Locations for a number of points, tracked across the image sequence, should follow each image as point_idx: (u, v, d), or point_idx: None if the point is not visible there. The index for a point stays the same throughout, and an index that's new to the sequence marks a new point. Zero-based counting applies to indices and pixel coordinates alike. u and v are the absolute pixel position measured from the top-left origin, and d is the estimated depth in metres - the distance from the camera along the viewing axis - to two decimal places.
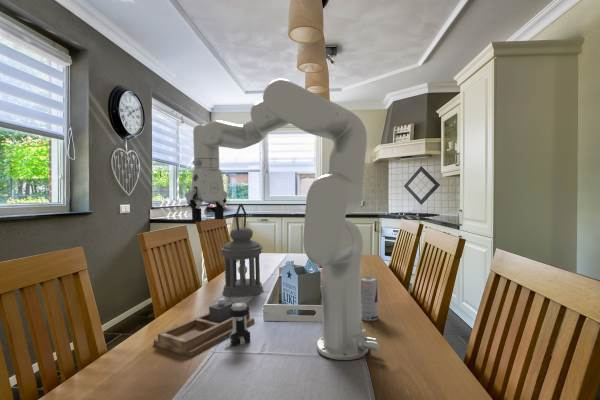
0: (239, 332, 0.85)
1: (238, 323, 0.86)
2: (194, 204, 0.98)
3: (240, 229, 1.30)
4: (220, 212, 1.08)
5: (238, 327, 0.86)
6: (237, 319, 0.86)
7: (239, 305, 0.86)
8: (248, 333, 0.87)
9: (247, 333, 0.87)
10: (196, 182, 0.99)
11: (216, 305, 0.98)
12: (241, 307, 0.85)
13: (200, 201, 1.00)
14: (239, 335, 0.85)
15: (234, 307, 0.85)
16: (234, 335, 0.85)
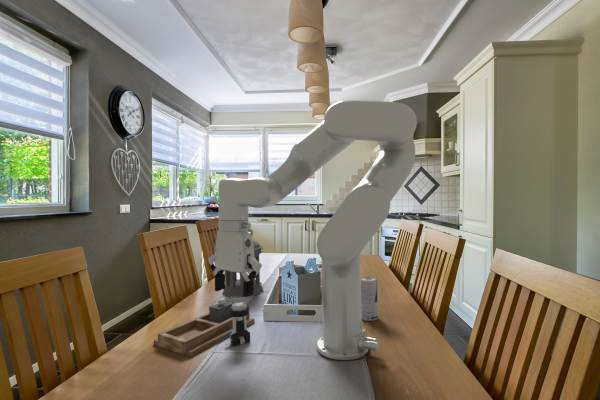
0: (239, 332, 0.85)
1: (238, 323, 0.86)
2: None
3: None
4: (223, 280, 0.89)
5: (238, 327, 0.86)
6: (237, 319, 0.86)
7: (239, 305, 0.86)
8: (248, 333, 0.87)
9: (247, 333, 0.87)
10: (249, 249, 0.84)
11: (216, 305, 0.98)
12: (241, 307, 0.85)
13: None
14: (239, 335, 0.85)
15: (234, 307, 0.85)
16: (234, 335, 0.85)
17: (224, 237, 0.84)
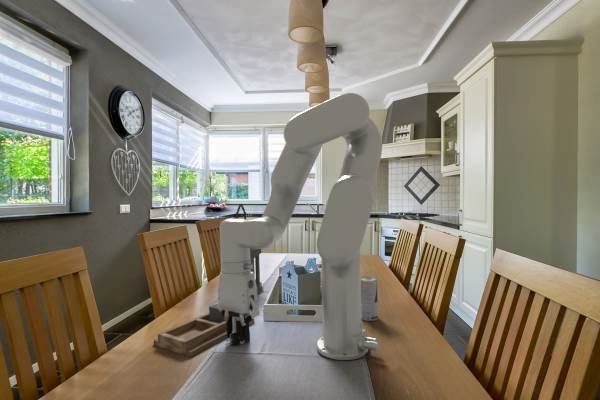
0: None
1: (238, 323, 0.86)
2: None
3: None
4: None
5: (238, 327, 0.86)
6: (237, 319, 0.86)
7: None
8: None
9: None
10: (252, 289, 0.84)
11: (216, 305, 0.98)
12: None
13: None
14: (239, 335, 0.85)
15: None
16: (234, 335, 0.85)
17: (227, 278, 0.84)
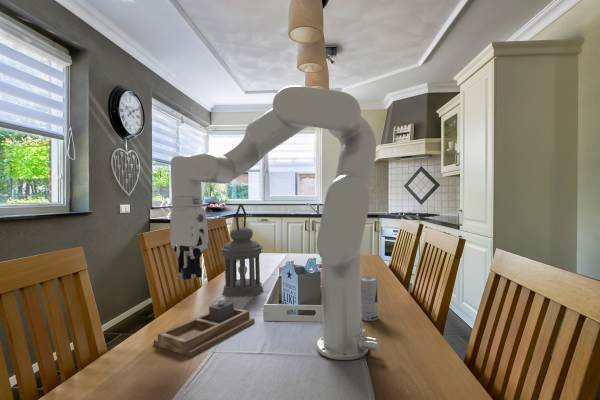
0: None
1: (189, 258, 0.88)
2: None
3: (240, 229, 1.30)
4: None
5: None
6: (188, 254, 0.88)
7: None
8: None
9: None
10: (202, 223, 0.86)
11: (216, 305, 0.98)
12: None
13: None
14: None
15: None
16: (185, 269, 0.87)
17: (177, 213, 0.86)
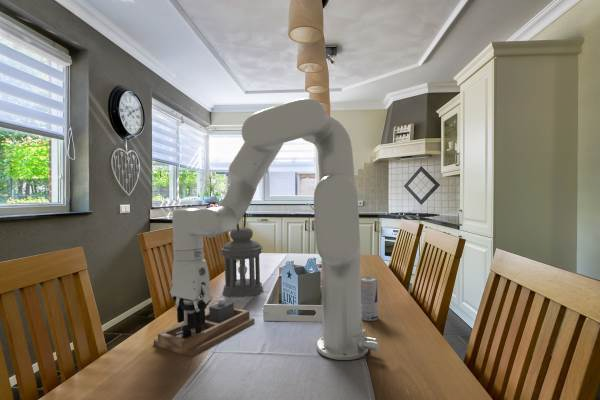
0: (190, 324, 0.88)
1: (189, 316, 0.88)
2: None
3: (240, 229, 1.30)
4: None
5: (189, 320, 0.88)
6: (188, 312, 0.89)
7: None
8: None
9: None
10: (204, 276, 0.86)
11: (216, 305, 0.98)
12: None
13: None
14: (190, 327, 0.88)
15: (186, 301, 0.87)
16: (185, 327, 0.88)
17: (179, 266, 0.87)
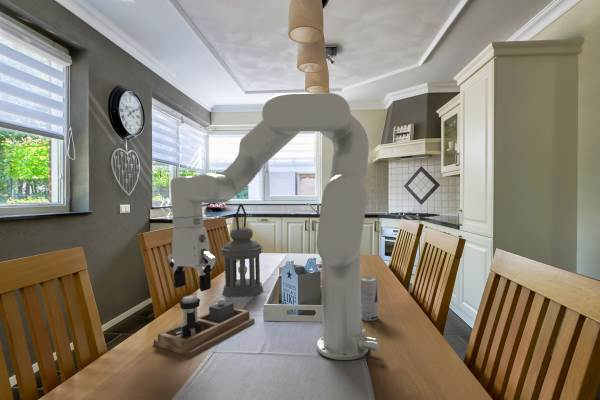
0: (189, 323, 0.88)
1: (189, 315, 0.89)
2: None
3: (240, 229, 1.30)
4: (183, 277, 0.91)
5: (189, 319, 0.89)
6: (188, 311, 0.89)
7: (190, 298, 0.89)
8: (199, 324, 0.90)
9: (198, 324, 0.90)
10: (204, 243, 0.86)
11: (216, 305, 0.98)
12: (192, 299, 0.89)
13: None
14: (190, 327, 0.89)
15: (185, 300, 0.88)
16: (185, 327, 0.88)
17: (179, 234, 0.86)
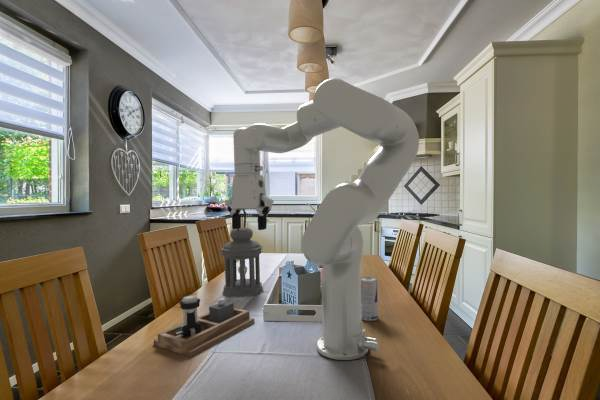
0: (190, 323, 0.88)
1: (189, 315, 0.89)
2: None
3: (240, 229, 1.30)
4: (239, 221, 1.02)
5: (189, 319, 0.89)
6: (188, 311, 0.89)
7: (190, 298, 0.89)
8: (199, 324, 0.90)
9: (198, 325, 0.90)
10: (262, 188, 0.96)
11: (216, 305, 0.98)
12: (192, 300, 0.89)
13: None
14: (190, 327, 0.89)
15: (185, 300, 0.88)
16: (185, 327, 0.88)
17: (240, 179, 0.97)
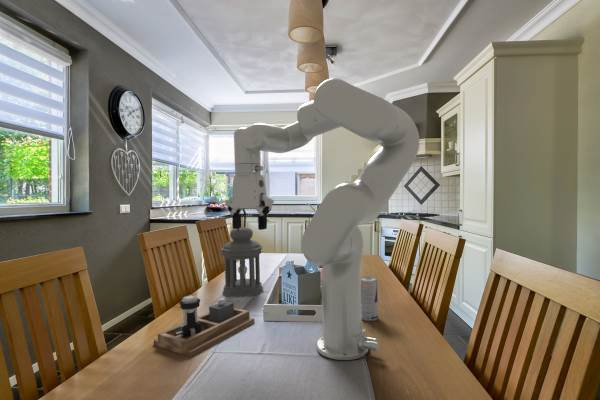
0: (190, 323, 0.88)
1: (189, 315, 0.89)
2: None
3: (240, 229, 1.30)
4: (240, 220, 1.02)
5: (189, 319, 0.89)
6: (188, 311, 0.89)
7: (190, 298, 0.89)
8: (199, 324, 0.90)
9: (198, 325, 0.90)
10: (262, 188, 0.96)
11: (216, 305, 0.98)
12: (192, 300, 0.89)
13: None
14: (190, 327, 0.89)
15: (185, 300, 0.88)
16: (185, 327, 0.88)
17: (240, 179, 0.97)
